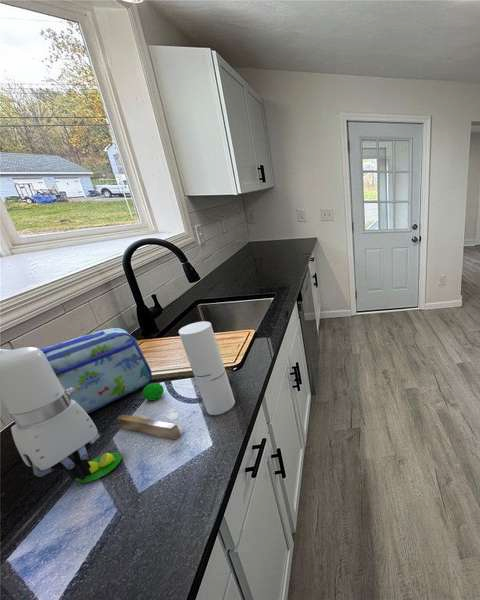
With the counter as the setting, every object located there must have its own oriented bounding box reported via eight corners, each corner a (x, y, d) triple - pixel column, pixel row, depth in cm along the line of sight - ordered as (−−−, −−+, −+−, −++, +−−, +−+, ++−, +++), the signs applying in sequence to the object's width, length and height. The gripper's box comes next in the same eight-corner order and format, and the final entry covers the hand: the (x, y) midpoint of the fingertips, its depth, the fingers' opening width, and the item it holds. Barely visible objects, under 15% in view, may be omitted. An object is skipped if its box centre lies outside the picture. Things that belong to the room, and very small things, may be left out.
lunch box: (41, 439, 80) (-1, 370, 73) (35, 422, 87) (-5, 357, 79) (158, 385, 100) (134, 326, 92) (146, 374, 106) (123, 318, 98)
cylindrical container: (208, 402, 91) (181, 325, 81) (235, 395, 93) (212, 319, 84) (205, 418, 84) (175, 336, 75) (234, 410, 87) (209, 330, 78)
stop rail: (122, 428, 82) (117, 418, 81) (128, 424, 84) (123, 413, 83) (175, 439, 78) (170, 428, 77) (181, 434, 79) (176, 424, 78)
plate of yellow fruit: (117, 448, 76) (113, 439, 75) (127, 464, 72) (122, 455, 70) (73, 472, 70) (67, 463, 69) (80, 491, 66) (74, 482, 65)
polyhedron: (152, 405, 91) (146, 391, 89) (141, 401, 93) (136, 388, 91) (169, 394, 95) (164, 381, 93) (159, 391, 97) (153, 378, 95)
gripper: (74, 382, 69) (108, 445, 76) (-26, 434, 55) (25, 504, 62) (98, 387, 67) (130, 451, 74) (0, 441, 53) (50, 513, 60)
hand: (82, 475), depth 68 cm, fingers closed
